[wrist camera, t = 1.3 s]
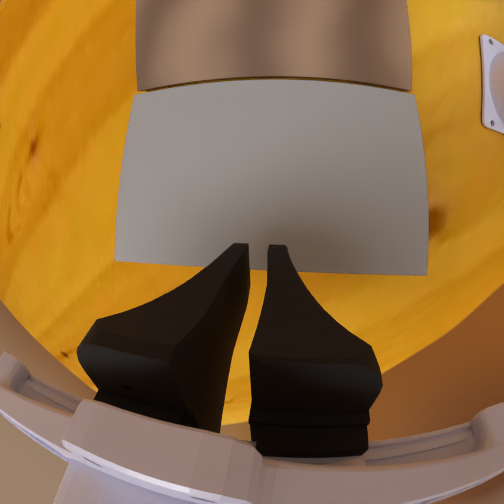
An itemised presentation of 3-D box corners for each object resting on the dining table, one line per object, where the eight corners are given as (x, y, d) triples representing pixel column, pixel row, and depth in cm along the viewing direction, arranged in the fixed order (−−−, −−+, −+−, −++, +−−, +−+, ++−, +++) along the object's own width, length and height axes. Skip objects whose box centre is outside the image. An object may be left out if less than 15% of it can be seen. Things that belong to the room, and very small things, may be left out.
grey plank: (407, 103, 14) (414, 94, 13) (417, 273, 14) (426, 275, 13) (142, 102, 16) (134, 94, 15) (125, 259, 17) (114, 260, 15)
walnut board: (396, -17, 9) (402, -23, 8) (405, 91, 14) (411, 90, 13) (144, -11, 12) (137, -15, 11) (145, 90, 16) (137, 91, 15)
